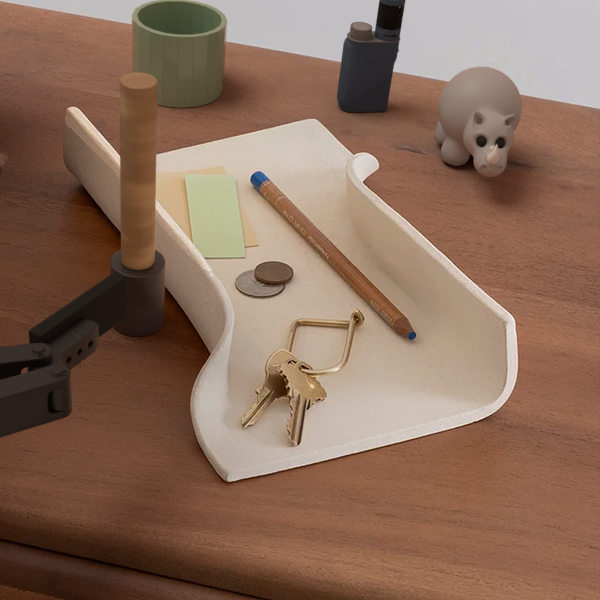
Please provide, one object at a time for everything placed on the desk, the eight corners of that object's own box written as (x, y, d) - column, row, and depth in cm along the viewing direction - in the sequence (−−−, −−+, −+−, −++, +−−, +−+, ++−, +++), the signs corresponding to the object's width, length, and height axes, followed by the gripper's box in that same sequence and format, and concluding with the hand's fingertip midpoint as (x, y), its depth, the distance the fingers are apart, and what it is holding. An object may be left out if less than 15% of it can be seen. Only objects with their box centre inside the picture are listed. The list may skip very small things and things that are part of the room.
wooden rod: (100, 319, 73) (94, 77, 62) (139, 298, 75) (140, 61, 65) (135, 344, 71) (136, 99, 61) (174, 321, 74) (182, 82, 63)
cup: (113, 83, 101) (112, 13, 97) (178, 59, 107) (180, -8, 103) (176, 116, 97) (178, 44, 93) (241, 90, 103) (245, 21, 99)
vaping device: (392, 112, 102) (412, -9, 95) (339, 113, 101) (355, -10, 94) (385, 100, 104) (404, -20, 97) (333, 100, 103) (348, -21, 96)
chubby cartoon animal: (438, 203, 90) (456, 111, 84) (426, 134, 99) (442, 49, 94) (522, 210, 90) (546, 120, 85) (502, 141, 100) (523, 56, 94)
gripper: (-470, 404, 52) (-117, 224, 67) (-116, 670, 42) (203, 390, 57) (-526, 280, 48) (-134, 116, 62) (-146, 545, 38) (209, 277, 53)
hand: (28, 247), depth 60 cm, fingers open, 13 cm apart
